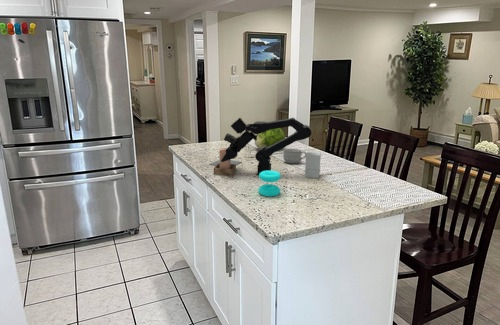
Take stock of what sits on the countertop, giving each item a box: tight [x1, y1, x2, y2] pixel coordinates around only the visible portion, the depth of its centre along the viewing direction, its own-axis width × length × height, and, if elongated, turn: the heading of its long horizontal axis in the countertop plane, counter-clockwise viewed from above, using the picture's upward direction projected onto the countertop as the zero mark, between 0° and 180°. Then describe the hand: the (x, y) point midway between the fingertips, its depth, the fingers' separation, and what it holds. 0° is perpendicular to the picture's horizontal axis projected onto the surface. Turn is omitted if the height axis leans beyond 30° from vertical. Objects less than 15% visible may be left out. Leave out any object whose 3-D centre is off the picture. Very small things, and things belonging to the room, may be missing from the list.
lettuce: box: [254, 128, 286, 149], centre depth 255 cm, size 16×21×15 cm
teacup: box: [282, 148, 307, 165], centre depth 224 cm, size 14×11×8 cm
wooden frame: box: [213, 163, 237, 177], centre depth 203 cm, size 10×10×4 cm
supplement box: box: [304, 150, 322, 179], centre depth 199 cm, size 7×7×13 cm
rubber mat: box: [209, 159, 243, 167], centre depth 221 cm, size 14×14×1 cm
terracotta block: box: [218, 147, 231, 169], centre depth 202 cm, size 5×5×13 cm
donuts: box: [258, 169, 282, 197], centre depth 172 cm, size 10×10×10 cm
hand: (223, 159), depth 202 cm, fingers open, 9 cm apart
